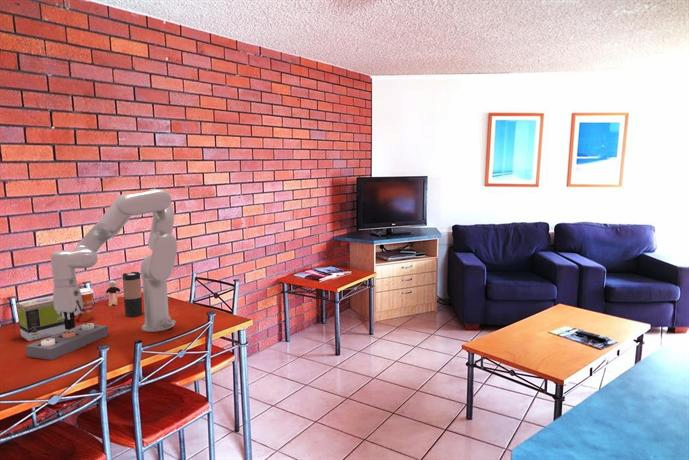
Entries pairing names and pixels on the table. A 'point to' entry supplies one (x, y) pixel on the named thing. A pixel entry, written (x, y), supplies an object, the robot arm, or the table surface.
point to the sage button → (88, 326)
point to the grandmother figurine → (112, 293)
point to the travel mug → (132, 294)
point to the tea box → (39, 319)
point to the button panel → (66, 342)
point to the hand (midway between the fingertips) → (70, 328)
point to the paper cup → (86, 305)
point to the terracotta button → (68, 334)
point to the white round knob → (48, 342)
